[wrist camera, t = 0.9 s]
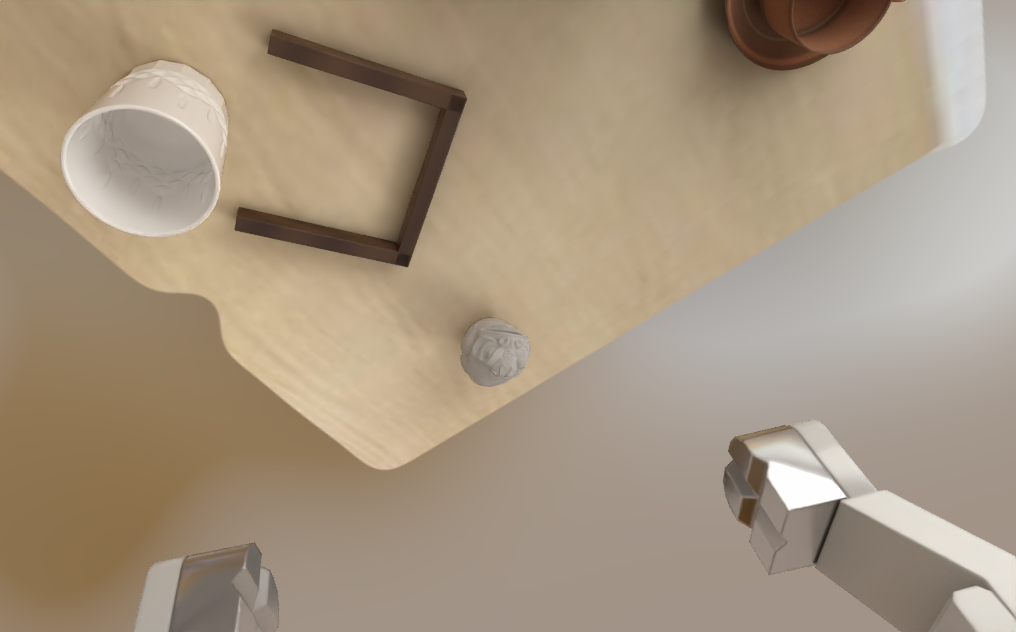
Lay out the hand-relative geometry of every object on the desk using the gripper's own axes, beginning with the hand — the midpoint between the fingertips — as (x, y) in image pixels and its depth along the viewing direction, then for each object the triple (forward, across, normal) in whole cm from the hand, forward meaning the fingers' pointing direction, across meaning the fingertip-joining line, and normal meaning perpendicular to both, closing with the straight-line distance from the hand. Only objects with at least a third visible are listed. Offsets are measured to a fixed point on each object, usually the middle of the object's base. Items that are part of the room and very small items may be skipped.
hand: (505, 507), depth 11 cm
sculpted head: (+41, -5, +29) cm, 50 cm away
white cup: (+41, +14, +6) cm, 44 cm away
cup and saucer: (+41, -30, +2) cm, 51 cm away
